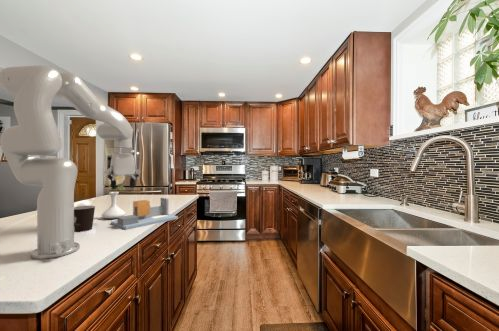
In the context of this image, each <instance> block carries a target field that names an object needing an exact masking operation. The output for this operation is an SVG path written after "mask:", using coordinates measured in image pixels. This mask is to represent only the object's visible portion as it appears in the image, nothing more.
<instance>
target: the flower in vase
mask: <svg viewBox="0 0 499 331" xmlns="http://www.w3.org/2000/svg"><path fill="white" fill-rule="evenodd" d="M110 175H111V174H110ZM111 176H112V175H111ZM125 179H126V175H117V177H116V179H115V181H116V186H117V187H116V189H115V191H111V192H110V191H109V192H108V194H109V196H110V198H111V199H110V200H111V201H110V202H111V204H110V206H109V207H108V208H107V209H106V210H104V212H103V213H101V217H102V219H103V218H104V219H111V220H112V219H117V217H122V216H126V211H124V209H122V208H121V207H119V206H118V205H117V198H118V195H119V193H120V192H119V191H123V190H124V191H125V190H126V188H125V187H124V186H123V185H122V183H123V182H124V181H125ZM107 180H108V184H110V186H109V185H108V187H109V188H110V189H112V187H111V180H110V179H109V178H107ZM120 184H121V185H120ZM117 190H119V191H117Z"/></svg>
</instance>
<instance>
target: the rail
mask: <svg viewBox="0 0 499 331" xmlns="http://www.w3.org/2000/svg"><path fill="white" fill-rule="evenodd" d="M178 219H179V216H177V215H174V214H170V213H169V198H166V197H160V205H158V206H150V215H144V216H139V217H138V216H137V207H134V215H133V214H130V215H124V216H122V217H117V218H116V220H111V222H110V223H111V225H113V226H115V227H118V228H121V229H124V230H126V231H127V230H131V229H136V228H141V227H145V226H150V225H154V224H158V223H160V224H161V223H164V222H168V221H173V220H178Z"/></svg>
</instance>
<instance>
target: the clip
mask: <svg viewBox="0 0 499 331" xmlns="http://www.w3.org/2000/svg"><path fill="white" fill-rule="evenodd" d="M150 202H151V201H150V200H146V199H142V200H141V199H140V200H134V201H132V215H134V207H137V216H138V217H139V216H144V215H150V207H151V203H150Z"/></svg>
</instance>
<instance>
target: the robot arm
mask: <svg viewBox="0 0 499 331" xmlns="http://www.w3.org/2000/svg"><path fill="white" fill-rule="evenodd" d="M0 87H2V89H4V90H5V91H6V92H7V93H9V94H12V95H13V96H15V97H14V100H13V112H14V115H15V118H16V120H17V124H18V125H13V126H9V127H7V128H6V129H4V130H3V131H2V132H1V135H0V147H1V148H0V149H1V150H2V152H3V155H4V157H5V159H6V161H7V163H8V165H9V168H10V170H11V172H12V174H13V175H14V177H15V179H16V180H17V181H18V182H20V183H21V184H23V185H25V186H34V187H35V186H36V187H42V188H41V190H40V192H39V193H38V196H37V200H36V214H37V215H36V216H37V217H36V223H37V224H36V225H37V226H36V229H37V230H36V231H37V233H36V236H37V238H36V242H37V244H36V246H37V247H36V248H35V249H34V250H32V251H31V252H30V257H31V258H32V259H39V260H40V259H42V260H43V259H46V260H47V259H53V258H58V257H62V256H67V255H70V254H72V253H75V252H76V251H78V250H79V249H80V247H81V246H80V245H81V244H80V243H78V242H75V229H74V207H75V201H74V200H75V187H76V181H77V177H78V167H77V165H76V163H75V162H73V161H72V160H70V159H68V158H66V157H60V156H59V157H56V156H54V157H53V156H52V157H51V155H55V154H57V153H59V152H60V151H61V150H62V148H63V142H62V138H61V135H60V132H59V128H58V126H57V123H56V121H55V118H54V114H53V110H52V103H53V100H54V98H55V99H56V98H57V99H58V98H61V99H62V98H63V99H65V100H66V101H67V102H68V103H69V104H70V105H72V107H74V109H75V110H76V111H77V112H79V114H80V115H82V116H83V117H85V118H88V119H91V120H94V121H98V122H101V124H99V125H98V126H97V128H96V134H97V135H98V136H99V138H101V139H103V140H105V141H107V140H108V141H114V142H113V143H114V148H113V150H114V152H113V154H112V155H111V159H110V167H109V168H107V169H106V170H104V171H103V174H104V175H105V176H106V177H107V179H110V180H111V184H110V187H111V189H112V190H116V189H117V185H116V181H115V179H116V177H117V175H124V176H129V177H130V179H129V188H131V189H133V188H135V186H136V180H137V178H138V177H139V176H140V174H141V172H142V171H141V170H140V169H139V168H137V167H136V161H135V156H134V155H133V153H135V149H133V134H134V133H133V132H134V131H133V128H132V126H131V124H130V122H129V121H128V119H127V118H126V117H125V116H124V115H123V114H122V113H121V112H119V111H117V109H116V110H115V109H114V108H112V107H111V106H108V105H107V104H105V103H103V102H101V101H100V100H99V99H98V97H97V96H96V95H95V93H94V92H92V90H91V89H90V87H88V85H87V84H86V83H85V82H84V81H83V80H82V78H81V77H79V76H78V75H77V74H75V73H73V72H65V71H64V72H59V71H58V69H56V68H53V67H52V66H48V65H21V66H9V67H4V68H3V69H1V70H0ZM41 156H45V157H41ZM46 156H47V157H46ZM111 175H112V176H111Z"/></svg>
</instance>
